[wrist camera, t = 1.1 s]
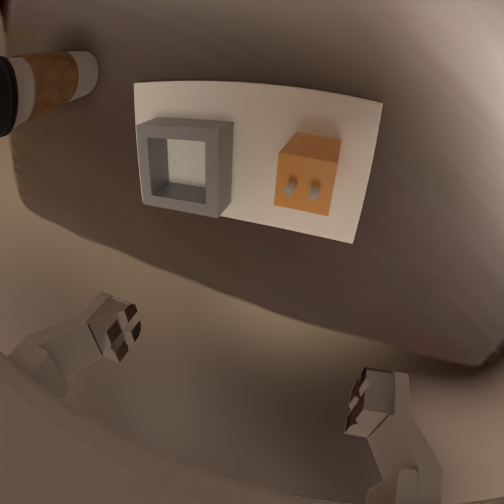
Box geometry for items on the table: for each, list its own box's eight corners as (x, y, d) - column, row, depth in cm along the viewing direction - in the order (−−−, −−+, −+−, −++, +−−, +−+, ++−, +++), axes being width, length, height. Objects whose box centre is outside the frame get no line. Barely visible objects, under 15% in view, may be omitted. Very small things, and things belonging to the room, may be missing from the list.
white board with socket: (139, 82, 28) (112, 88, 24) (381, 102, 22) (387, 108, 19) (147, 197, 36) (125, 215, 32) (352, 238, 31) (351, 264, 27)
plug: (296, 131, 25) (272, 159, 19) (341, 140, 25) (336, 171, 18) (291, 173, 28) (267, 215, 21) (334, 181, 27) (325, 227, 20)
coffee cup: (97, 114, 31) (-5, 158, 19) (57, 94, 31) (-37, 130, 19) (115, 49, 26) (-1, 70, 14) (70, 36, 26) (-33, 56, 14)
